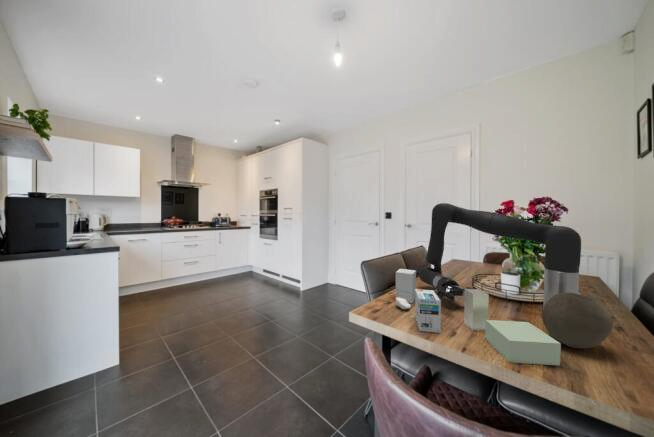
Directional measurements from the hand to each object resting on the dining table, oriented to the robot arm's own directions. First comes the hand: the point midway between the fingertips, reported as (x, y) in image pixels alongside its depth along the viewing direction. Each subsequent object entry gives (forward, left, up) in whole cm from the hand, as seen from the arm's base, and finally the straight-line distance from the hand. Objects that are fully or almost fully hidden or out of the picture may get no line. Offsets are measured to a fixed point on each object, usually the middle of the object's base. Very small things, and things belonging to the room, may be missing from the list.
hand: (465, 299), depth 90 cm
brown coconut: (-22, +18, -7) cm, 29 cm away
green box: (-4, +21, -7) cm, 22 cm away
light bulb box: (+16, +6, -7) cm, 18 cm away
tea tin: (0, +7, -7) cm, 10 cm away
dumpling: (+20, -8, -7) cm, 23 cm away
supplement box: (+16, -18, -7) cm, 25 cm away
